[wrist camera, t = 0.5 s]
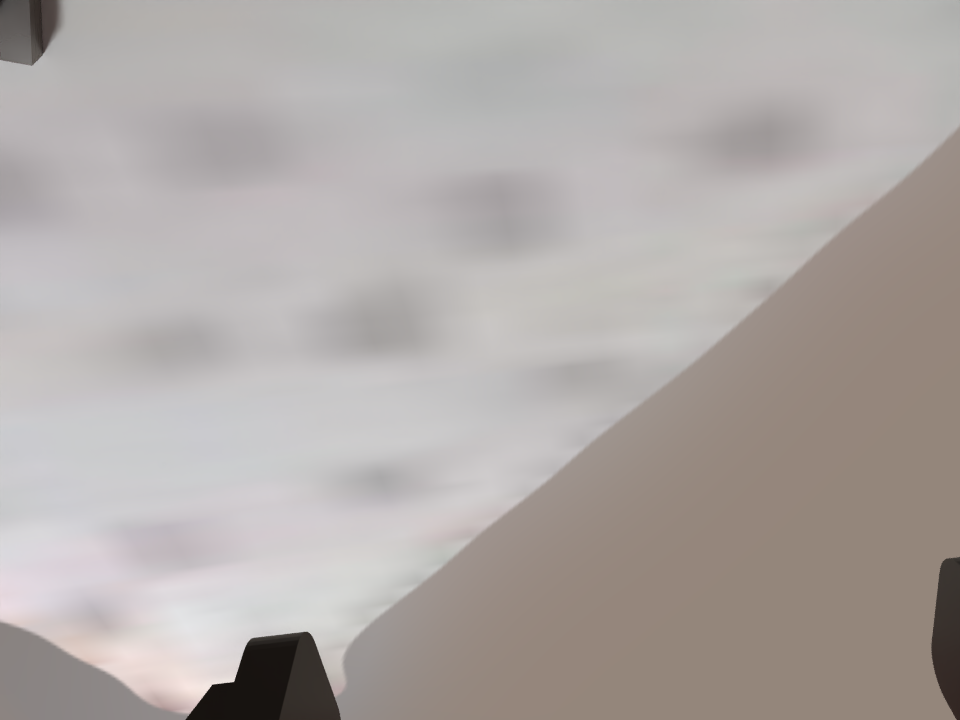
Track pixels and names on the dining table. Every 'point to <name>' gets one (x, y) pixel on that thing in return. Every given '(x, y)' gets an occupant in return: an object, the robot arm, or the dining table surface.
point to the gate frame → (20, 31)
